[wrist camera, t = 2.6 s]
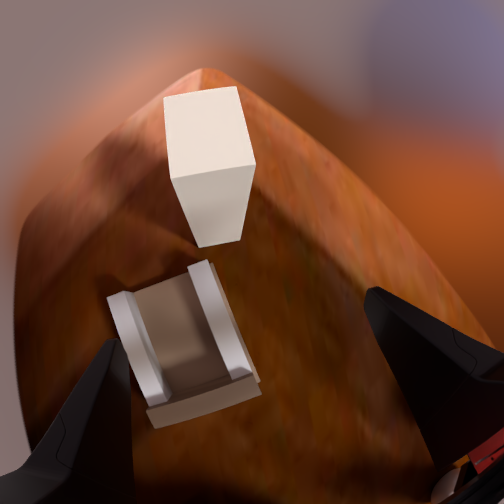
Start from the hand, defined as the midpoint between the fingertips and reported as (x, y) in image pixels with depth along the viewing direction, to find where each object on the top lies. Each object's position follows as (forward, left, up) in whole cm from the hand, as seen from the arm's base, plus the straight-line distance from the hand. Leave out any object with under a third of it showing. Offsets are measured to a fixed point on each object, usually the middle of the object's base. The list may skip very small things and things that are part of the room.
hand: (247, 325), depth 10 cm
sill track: (-4, +2, -13) cm, 14 cm away
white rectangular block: (+5, +7, -13) cm, 16 cm away
